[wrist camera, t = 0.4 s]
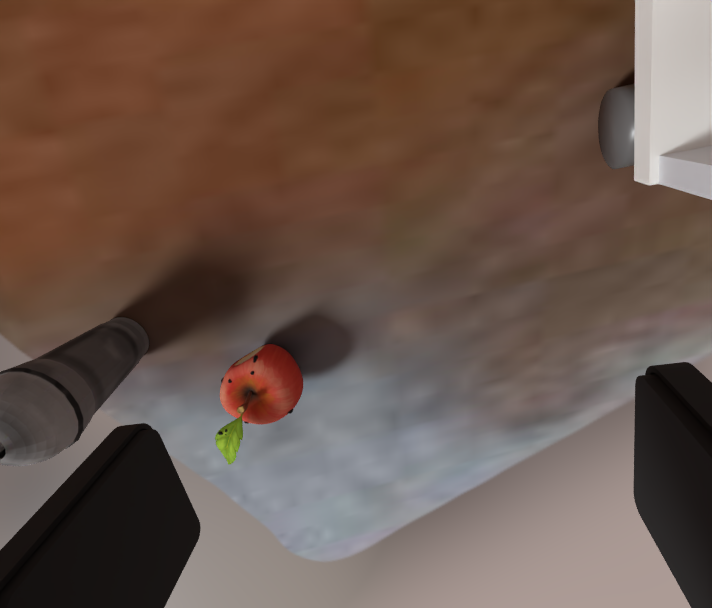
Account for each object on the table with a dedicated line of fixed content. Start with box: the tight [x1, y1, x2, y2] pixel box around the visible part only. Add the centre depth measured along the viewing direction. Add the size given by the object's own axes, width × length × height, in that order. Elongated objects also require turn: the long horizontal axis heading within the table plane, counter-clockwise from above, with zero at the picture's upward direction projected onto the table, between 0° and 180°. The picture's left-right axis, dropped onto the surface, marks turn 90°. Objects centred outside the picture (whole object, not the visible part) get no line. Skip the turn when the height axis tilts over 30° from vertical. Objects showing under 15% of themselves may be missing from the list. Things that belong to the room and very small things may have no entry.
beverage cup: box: [0, 317, 149, 466], centre depth 35 cm, size 7×7×20 cm
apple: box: [215, 344, 303, 464], centre depth 38 cm, size 8×7×10 cm
